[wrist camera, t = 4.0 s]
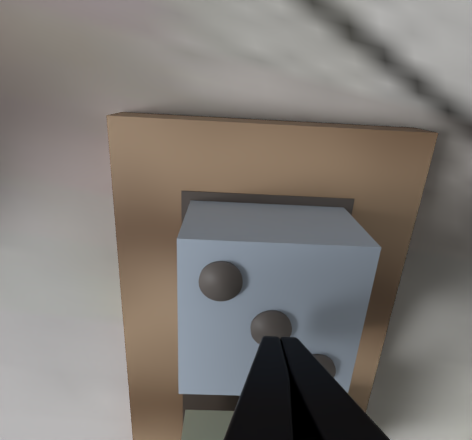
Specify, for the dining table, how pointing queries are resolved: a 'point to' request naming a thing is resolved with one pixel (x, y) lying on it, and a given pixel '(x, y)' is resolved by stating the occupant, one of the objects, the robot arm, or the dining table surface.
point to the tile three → (268, 288)
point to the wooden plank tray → (246, 191)
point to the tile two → (205, 424)
